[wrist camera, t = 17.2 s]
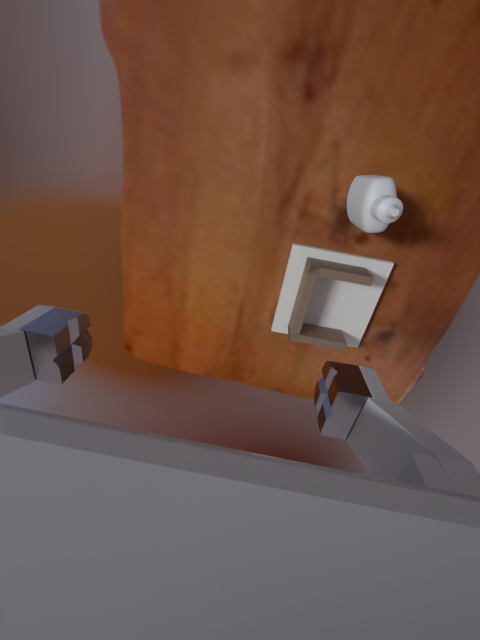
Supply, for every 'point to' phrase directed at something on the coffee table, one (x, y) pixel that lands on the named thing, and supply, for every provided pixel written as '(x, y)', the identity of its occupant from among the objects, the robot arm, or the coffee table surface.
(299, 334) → the u rest
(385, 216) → the eye dropper bottle
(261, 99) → the coffee table surface
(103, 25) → the coffee table surface
